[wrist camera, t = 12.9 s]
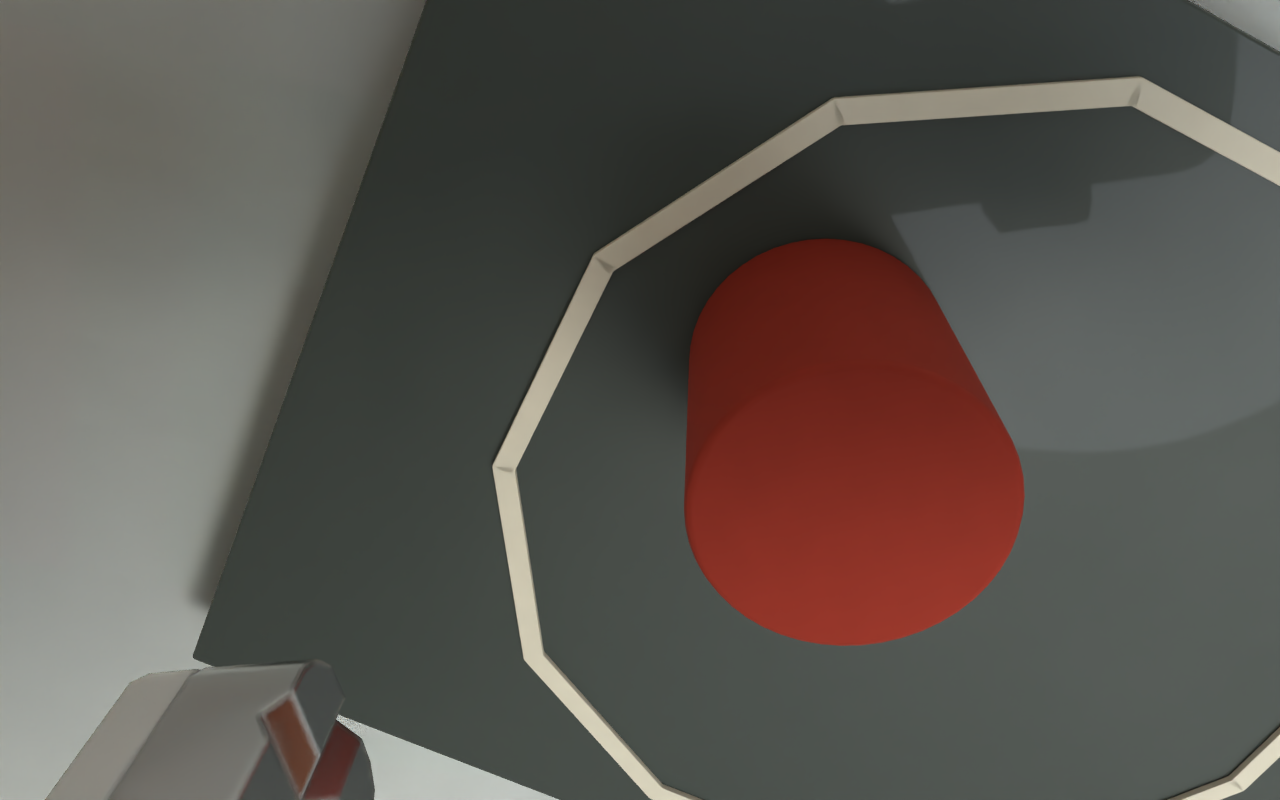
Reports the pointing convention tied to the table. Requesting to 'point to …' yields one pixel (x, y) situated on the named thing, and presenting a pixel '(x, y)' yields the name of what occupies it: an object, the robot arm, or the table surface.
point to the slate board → (658, 398)
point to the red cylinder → (842, 450)
